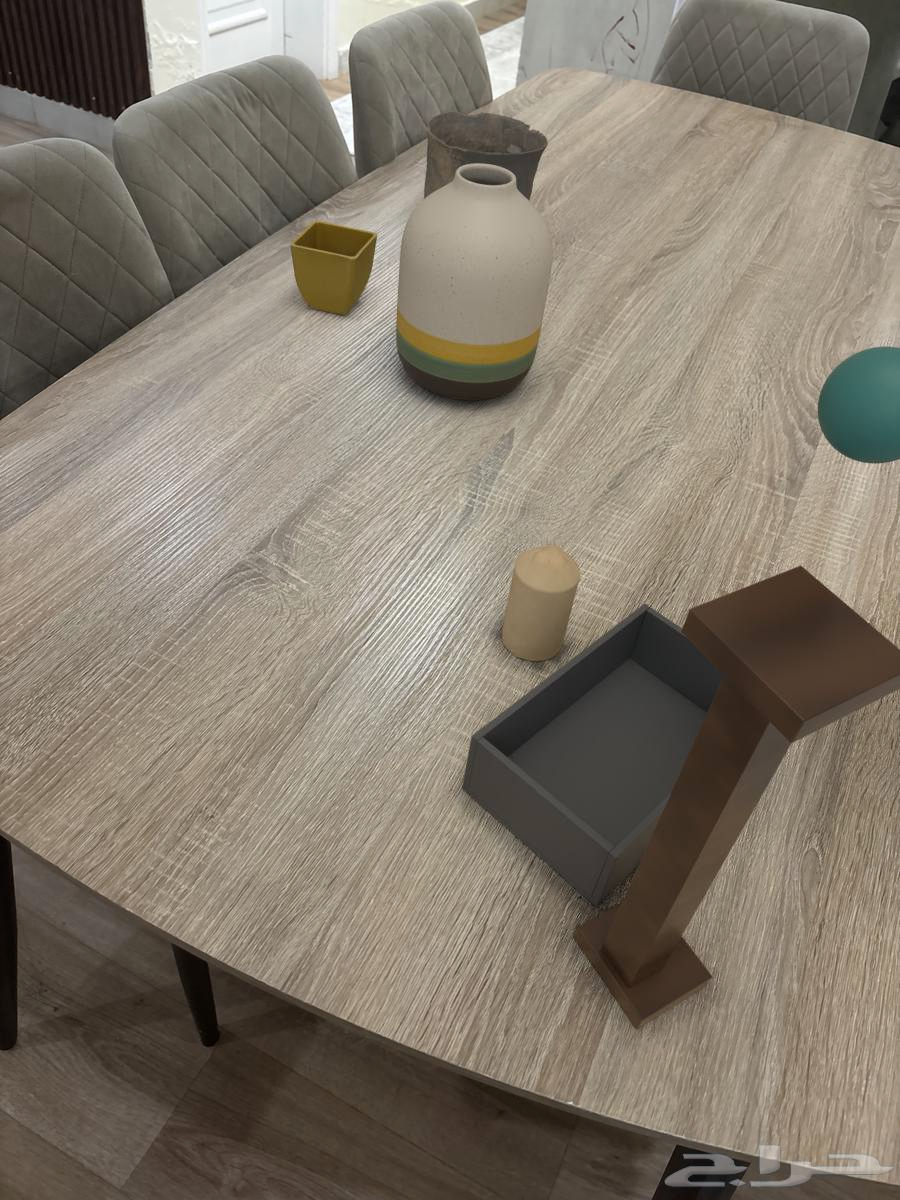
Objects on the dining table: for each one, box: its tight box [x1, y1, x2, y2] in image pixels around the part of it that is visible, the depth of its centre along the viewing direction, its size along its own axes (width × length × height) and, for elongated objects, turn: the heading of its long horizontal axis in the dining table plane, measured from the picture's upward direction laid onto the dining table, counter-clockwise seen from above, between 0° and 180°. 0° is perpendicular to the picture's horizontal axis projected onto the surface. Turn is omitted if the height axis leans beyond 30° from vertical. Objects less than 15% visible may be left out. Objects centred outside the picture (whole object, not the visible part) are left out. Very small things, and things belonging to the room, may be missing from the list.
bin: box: [461, 603, 724, 908], centre depth 72 cm, size 13×21×7 cm, turn 135°
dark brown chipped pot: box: [423, 111, 549, 202], centre depth 140 cm, size 18×18×15 cm
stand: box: [573, 565, 900, 1030], centre depth 52 cm, size 7×7×32 cm
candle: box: [501, 544, 581, 662], centre depth 80 cm, size 6×6×10 cm
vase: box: [395, 163, 554, 401], centre depth 107 cm, size 17×17×24 cm
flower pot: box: [289, 220, 378, 316], centre depth 122 cm, size 9×9×9 cm
